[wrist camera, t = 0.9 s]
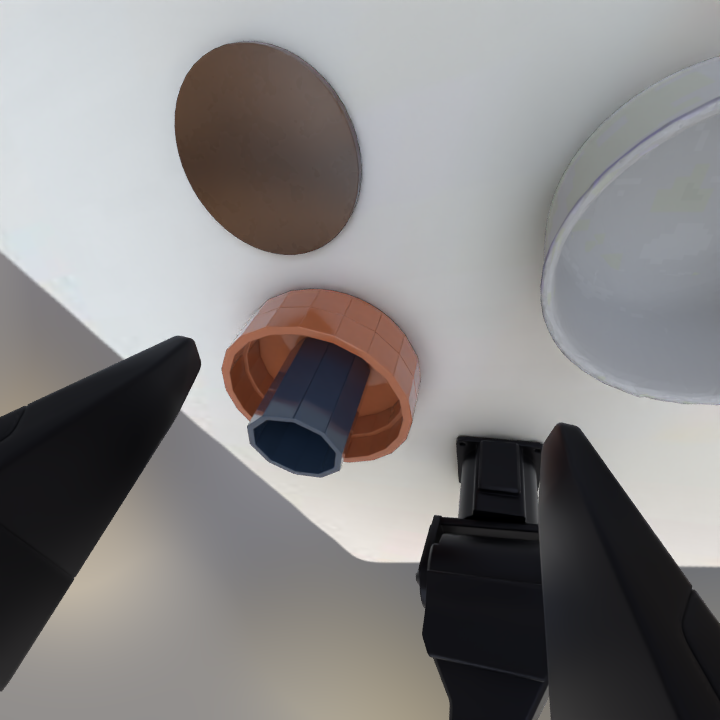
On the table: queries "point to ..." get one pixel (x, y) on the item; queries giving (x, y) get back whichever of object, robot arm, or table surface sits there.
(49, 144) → the table surface
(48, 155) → the table surface
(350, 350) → the bowl
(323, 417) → the cup
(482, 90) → the table surface
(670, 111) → the teacup
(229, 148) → the coaster
